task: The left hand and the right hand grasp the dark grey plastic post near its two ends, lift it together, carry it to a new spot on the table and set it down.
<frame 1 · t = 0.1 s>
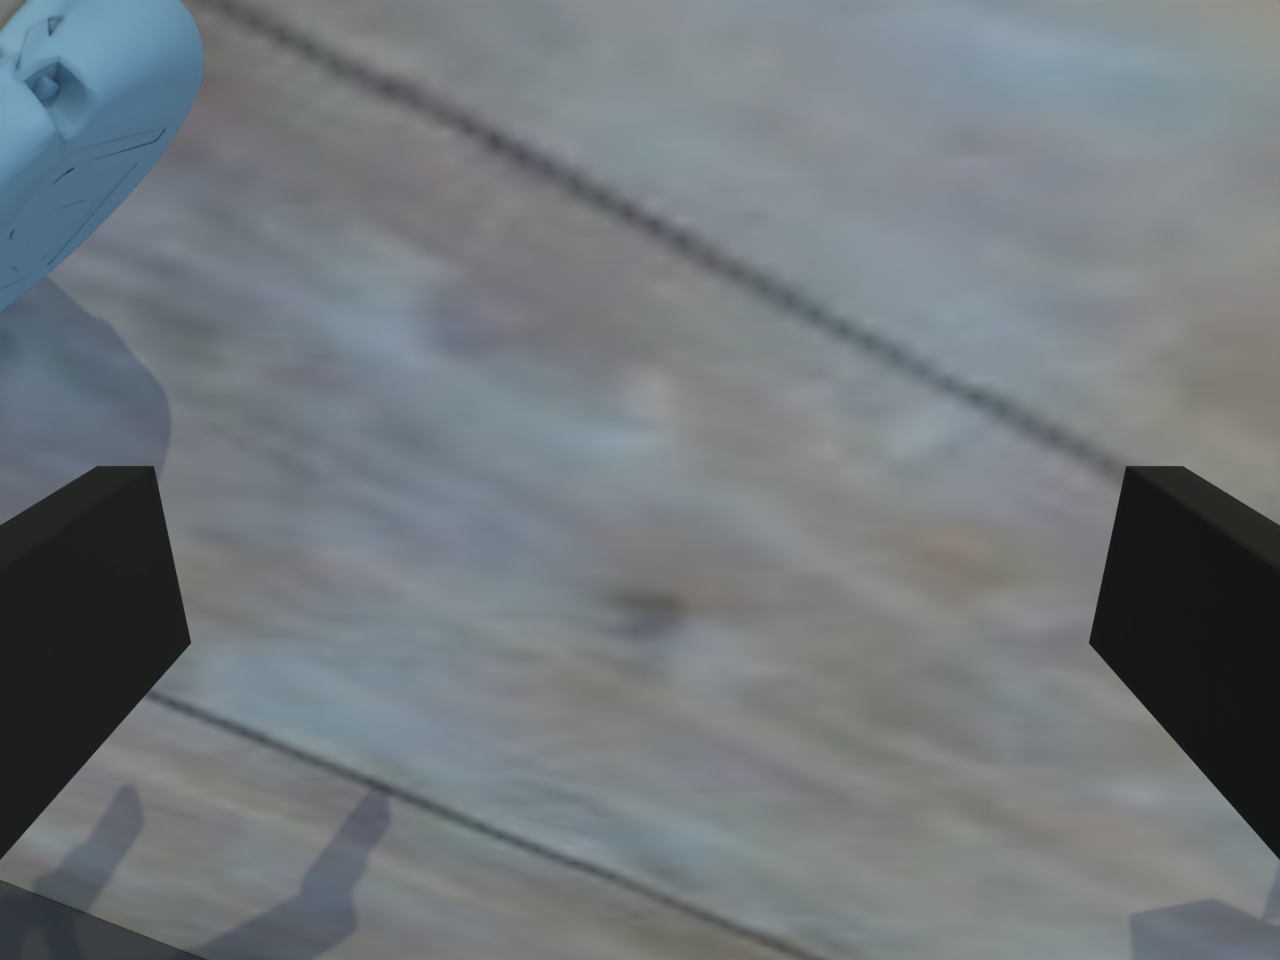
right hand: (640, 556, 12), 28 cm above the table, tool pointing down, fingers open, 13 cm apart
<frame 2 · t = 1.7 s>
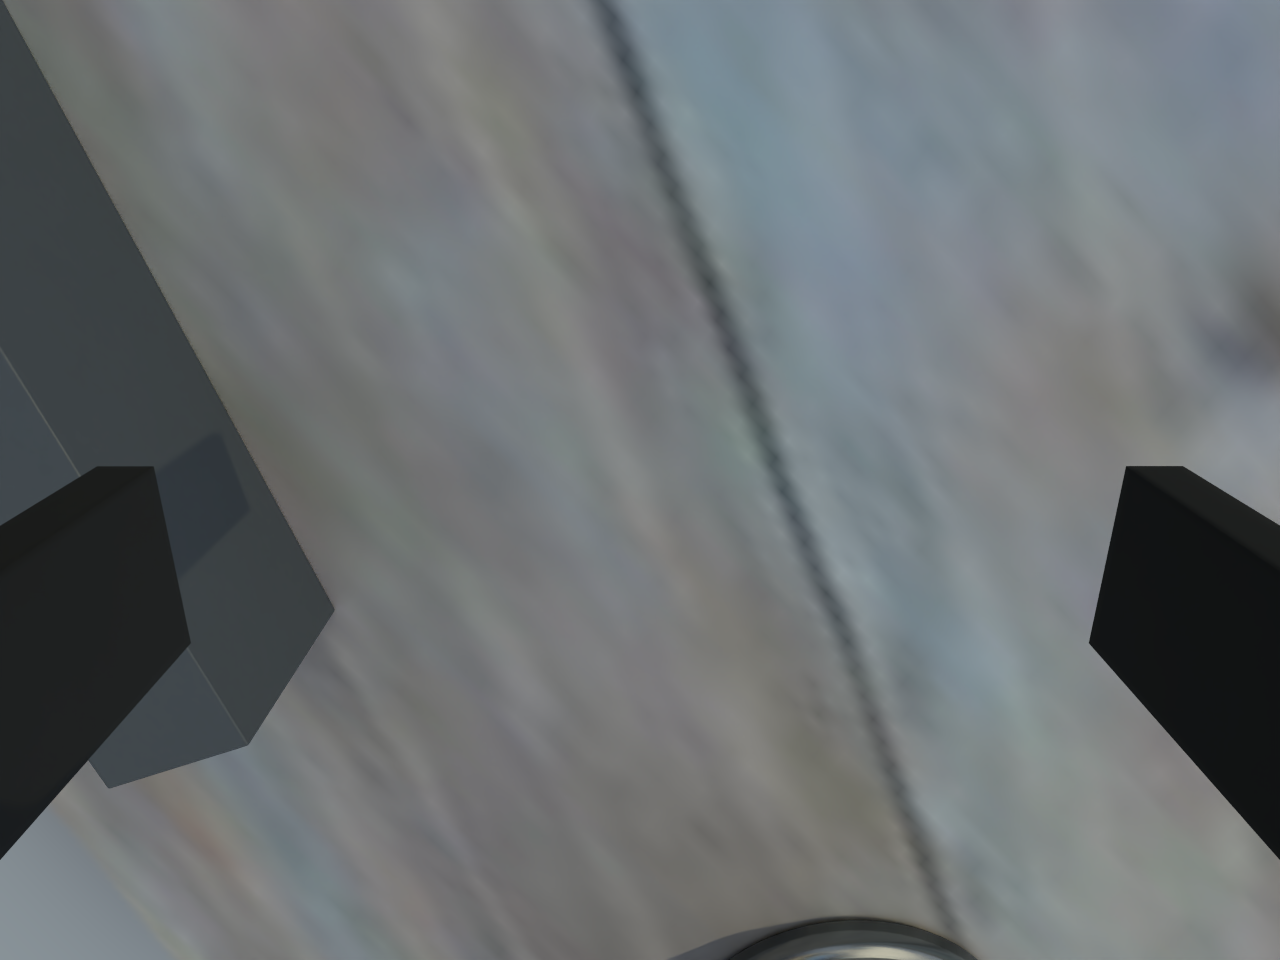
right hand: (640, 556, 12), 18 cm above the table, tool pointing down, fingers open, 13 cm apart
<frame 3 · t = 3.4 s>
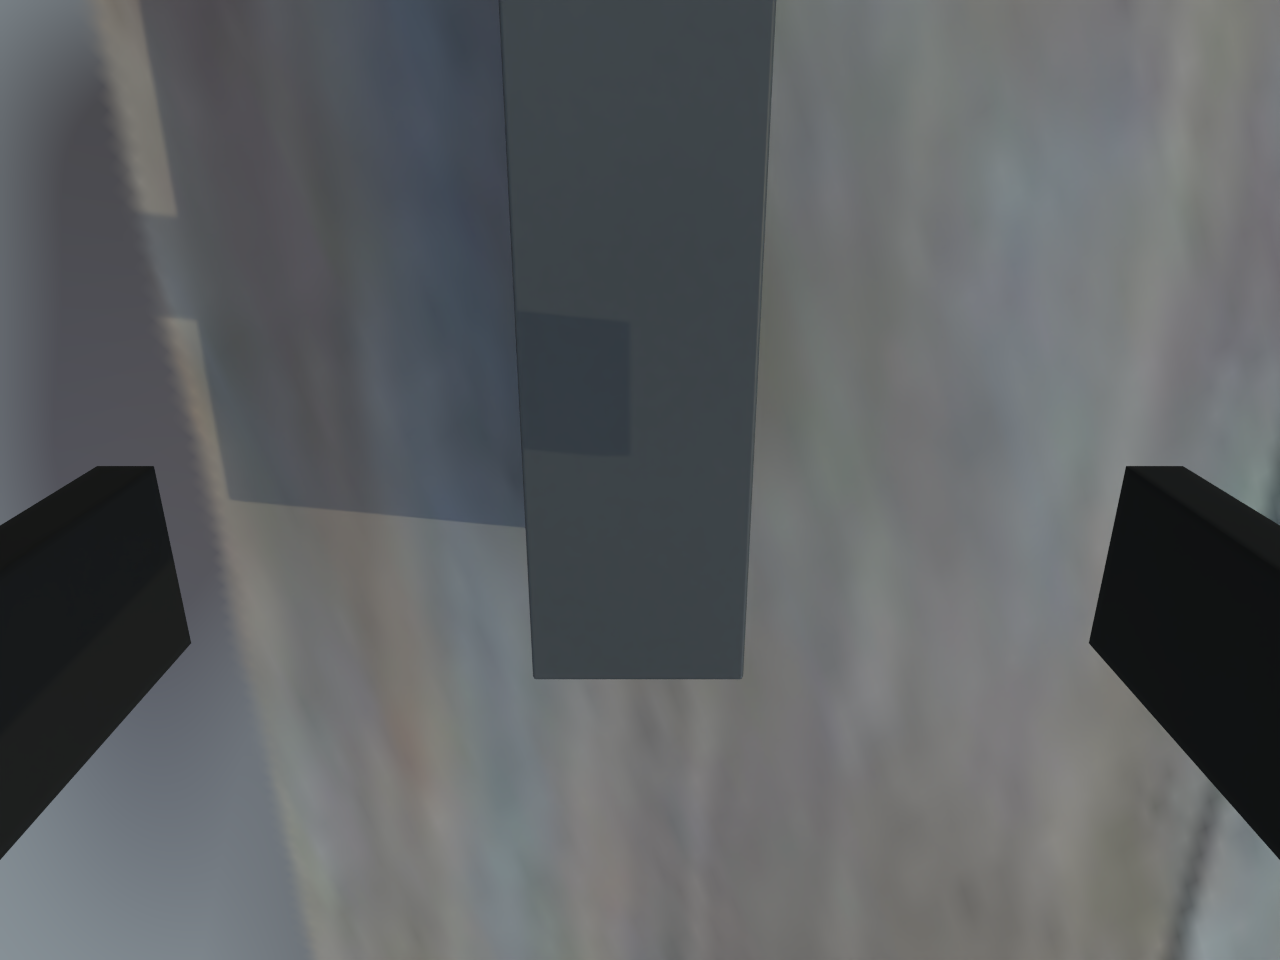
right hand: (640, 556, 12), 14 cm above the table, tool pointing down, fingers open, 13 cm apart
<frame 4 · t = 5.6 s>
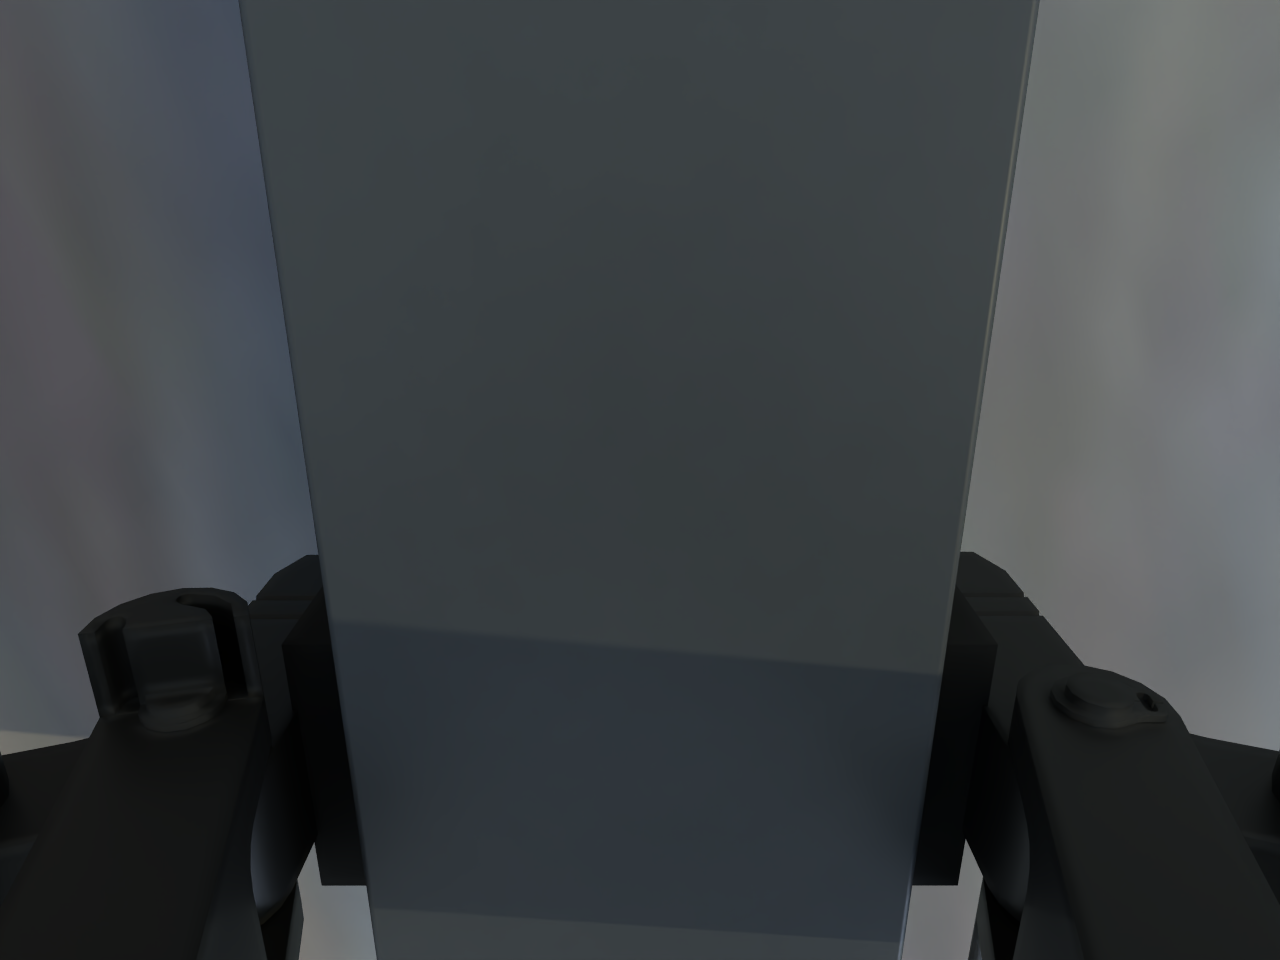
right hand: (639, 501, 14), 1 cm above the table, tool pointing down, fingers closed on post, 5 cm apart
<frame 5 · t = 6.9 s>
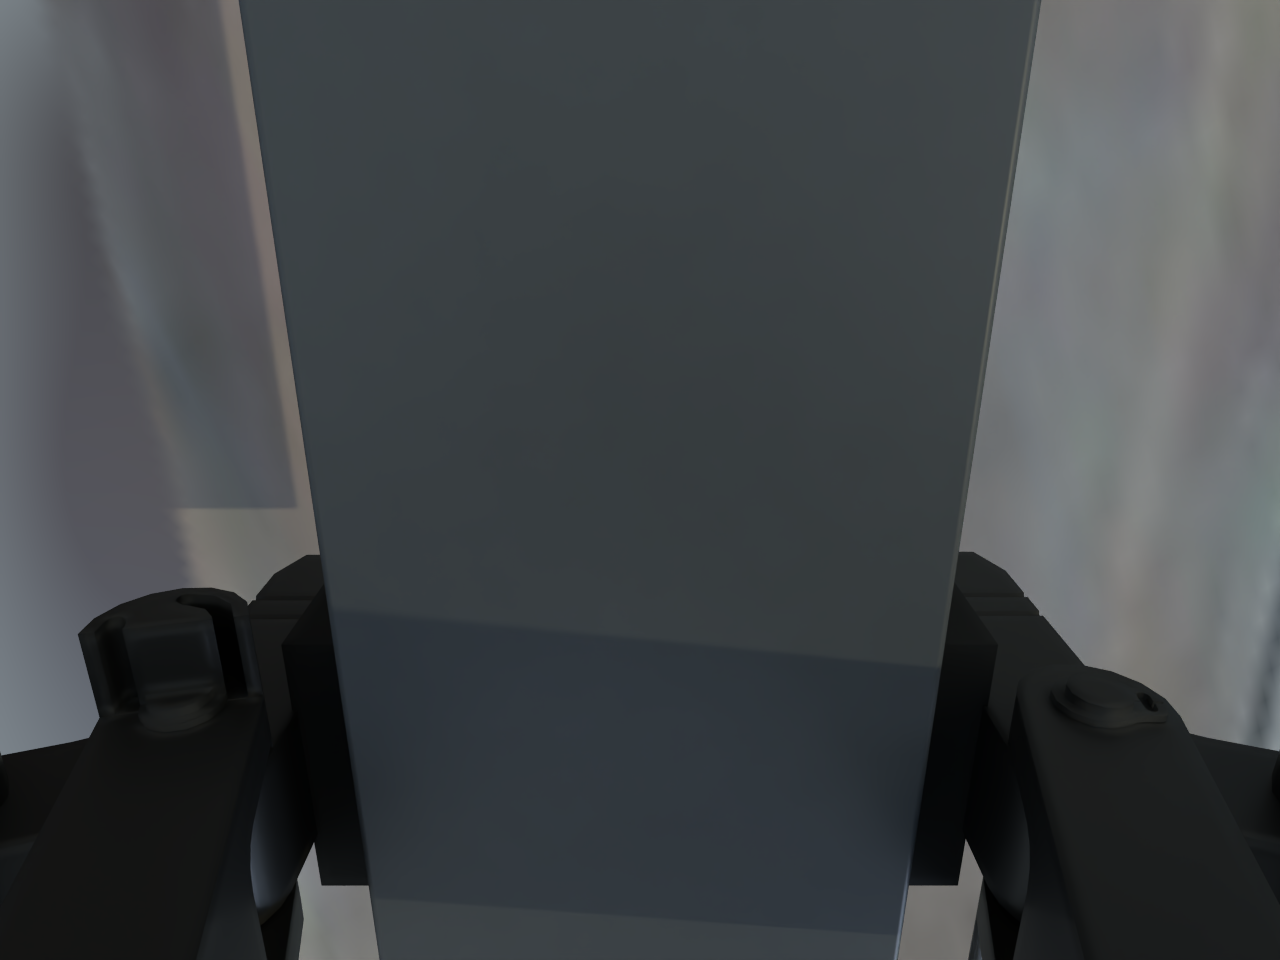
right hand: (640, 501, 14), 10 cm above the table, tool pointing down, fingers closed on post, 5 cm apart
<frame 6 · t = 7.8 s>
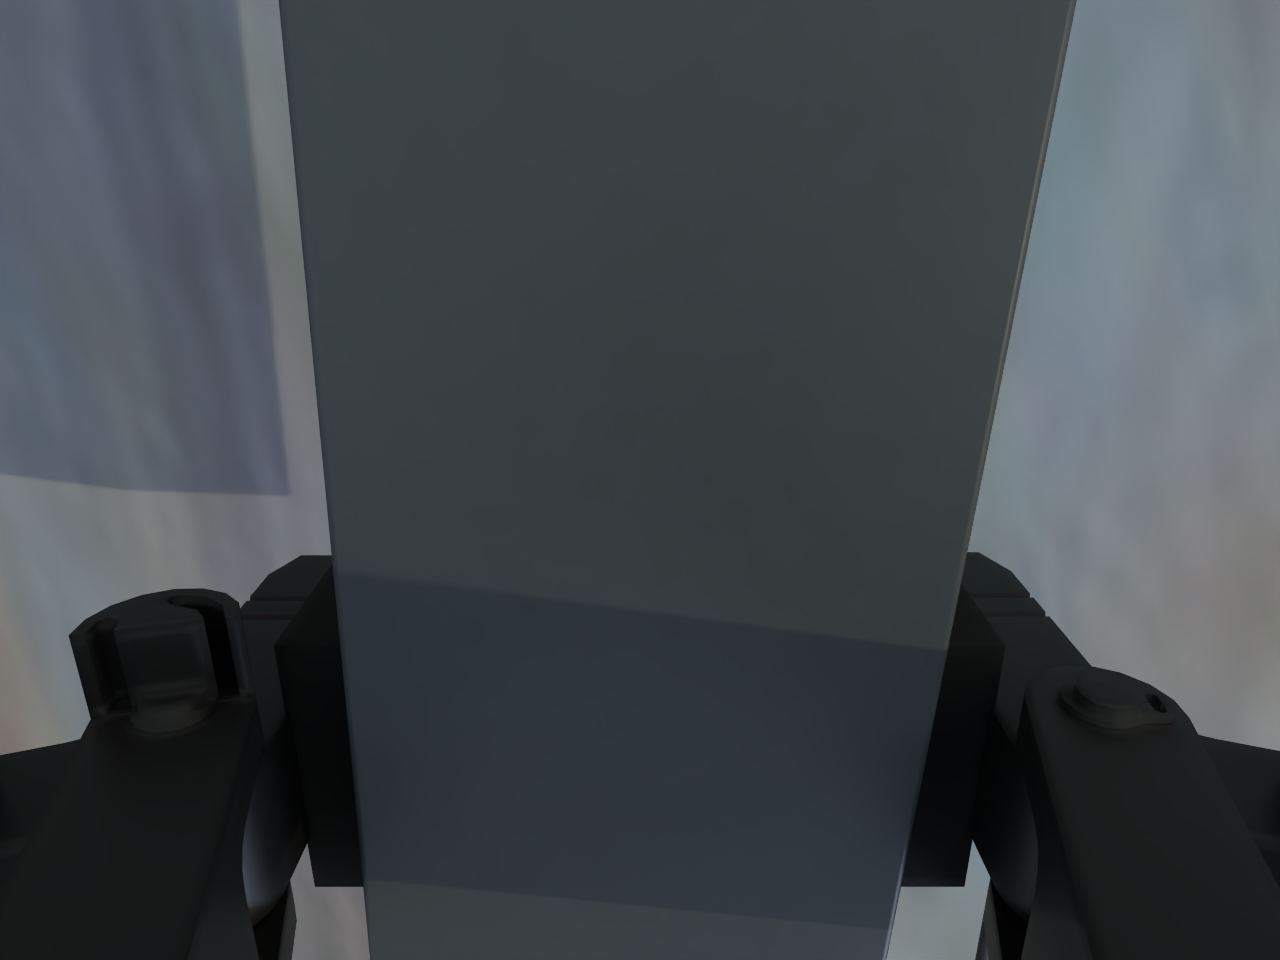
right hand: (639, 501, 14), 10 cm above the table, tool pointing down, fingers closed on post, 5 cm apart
when the left hand's fingers open (2 cm above the table, at t = 10.4 s): post stays where it is, on the table.
when the right hand's fingers open (2 cm above the table, at t = 10.4 s): post stays where it is, on the table.
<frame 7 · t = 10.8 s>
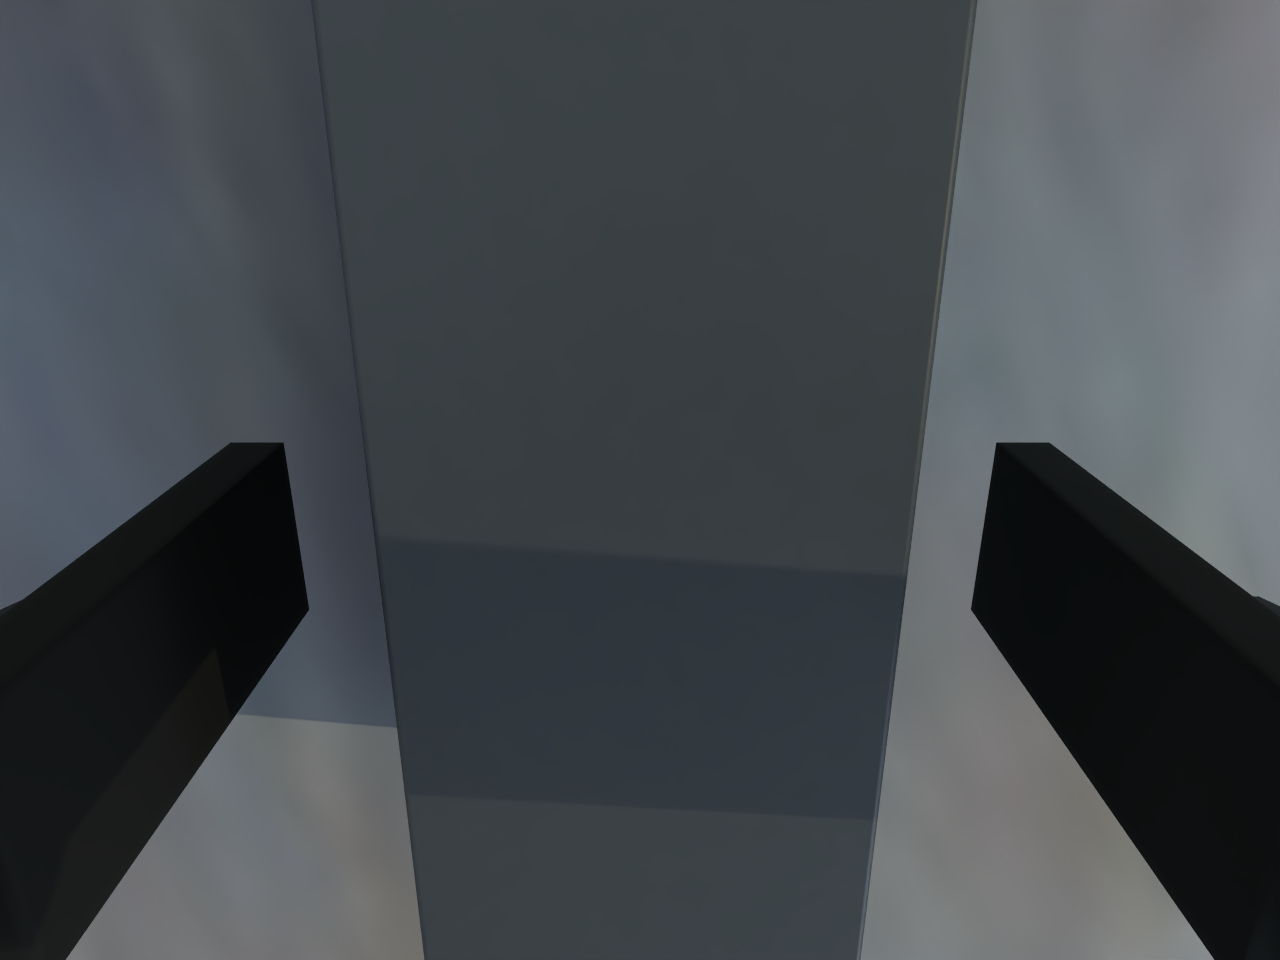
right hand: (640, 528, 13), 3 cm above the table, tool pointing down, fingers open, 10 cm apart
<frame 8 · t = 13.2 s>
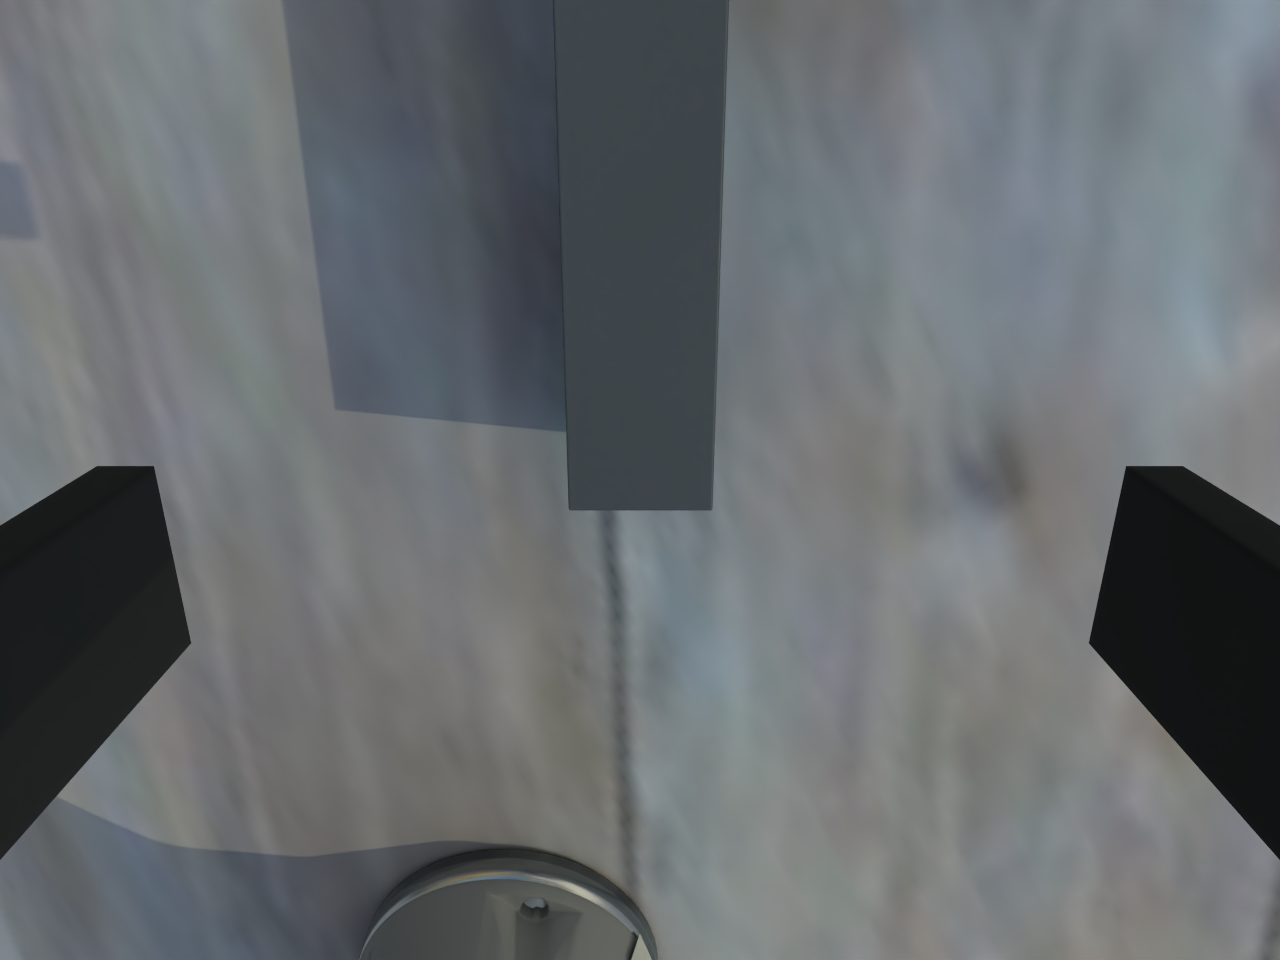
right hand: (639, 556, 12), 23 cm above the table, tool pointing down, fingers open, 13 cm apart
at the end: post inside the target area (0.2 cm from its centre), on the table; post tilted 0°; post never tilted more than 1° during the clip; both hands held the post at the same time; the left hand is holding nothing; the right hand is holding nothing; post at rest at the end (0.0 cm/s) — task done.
